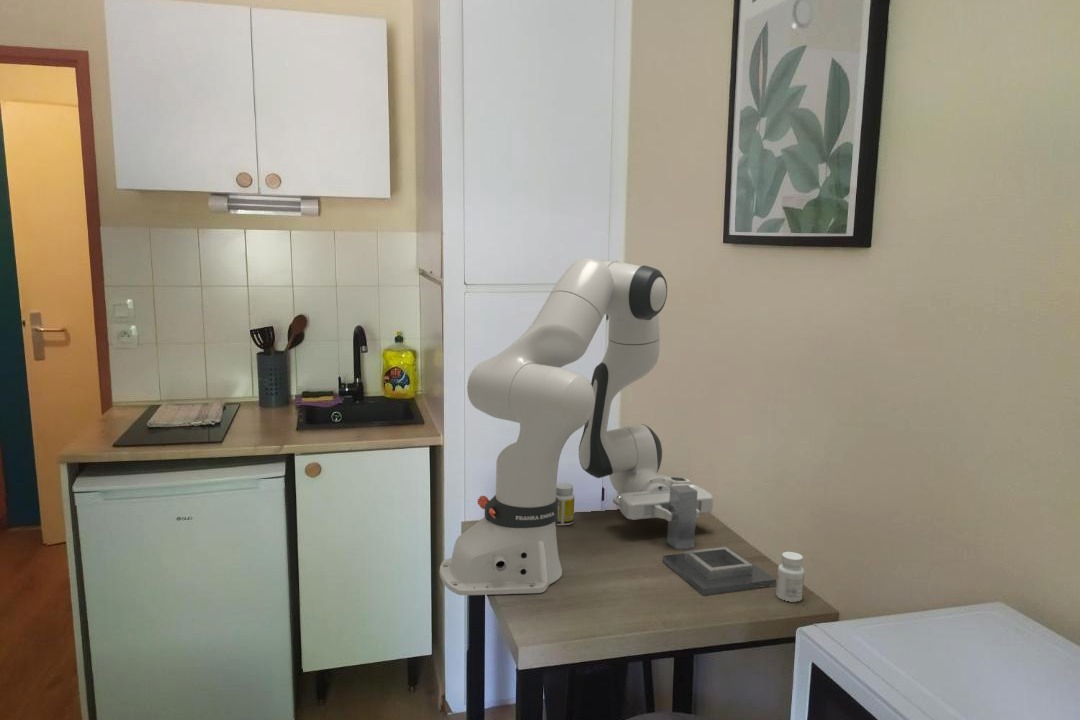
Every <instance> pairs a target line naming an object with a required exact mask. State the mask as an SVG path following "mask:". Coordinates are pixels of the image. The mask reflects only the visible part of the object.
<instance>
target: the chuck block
mask: <svg viewBox="0 0 1080 720" xmlns="http://www.w3.org/2000/svg"><path fill="white" fill-rule="evenodd" d="M662 563H664V565H666V566H667V567H669V568H670V569H671V570H672V571H673V572H675V573H676V575H678V576H679V577H681V578H682V579H683V580H684V581H685V582H686V583H688V584H689V585H690V586H692V588H693V589H694V590H696V591H697V592H698V593H700V594H701V595H702V596H703V597H704V596H709V595H717V594H725V593H732V592H734V593H735V592H741V591H745V590H746V589H748V590H752V589H751V588H756V587H761V586H770V585H776V586H777V578H774V577H773V576H772V575H770V574H769V573H767V572H766V571H765V570H763V569H761V568H760V567H758V566H757V565H755V563H753V562H751V561H750V560H748V559H747V558H745V557H744V556H742V555H741V554H740V553H738V552H737V551H735V550H734V549H732V548H730V547H729V548H728V547H727V546H720V547H713V548H711V547H710V548H702V549H694V550H686V551H684V552H683V553H677V554H676V553H675V554H669V555H668V554H667V555H662ZM756 589H757V588H756Z"/></svg>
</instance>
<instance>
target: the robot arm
mask: <svg viewBox="0 0 1080 720" xmlns="http://www.w3.org/2000/svg"><path fill="white" fill-rule="evenodd" d="M667 296H668V283H667V280H666V277H665V276H664V275H663V273H662V272H661V270H659V269H657V268H655V267H651V266H648V265H637V264H632V263H628V262H627V263H626V262H621V261H618V260H616V261H615V260H598V259H595V258H590V257H587V258H586V257H584V258H579V259H578V260H576V261H574V262H573V263H572V264H571V265H570V266H569V267H568V268H567V269H566V270H565V272H564V273H563V274H562V275H561V277H560V278H559V279H558V280H557V282H556V283H555V285H554V287H553V288H552V290H551V291H550V293H549V295H548V296H547V299H546V300H545V302H544V304H543V305H542V307H541V309H540V310H539V311H538V314H537V315H536V317H535V318H534V320H533V322H532V323H531V325H530V326H529V327H528V328H527V329H526V330H525V331H524V333H523V334H521V336H519V338H518V339H516V340H515V341H514V342H513V343H512V344H511V345H509V346H508V347H507V348H505V349H504V350H503V351H501V352H500V353H498V354H497V355H495V356H492V357H491V358H488V359H486V360H483V361H481V362H479V363H477V365H476V366H475V367H473V369H472V370H471V372H470V375H469V376H468V380H467V385H466V386H467V387H466V389H467V391H466V392H467V398H468V399H469V402H470V404H471V405H472V406H473V407H474V409H477V410H478V411H480V412H483V413H484V414H485V415H488V416H490V417H492V418H494V419H500V420H503V421H509V422H513V423H519V433H518V437H517V440H516V442H515V441H514V442H513V443H511V444H509V445H507V446H505V448H503V449H502V450H501V451H500V452H499V454H498V455H497V458H496V465H495V466H496V469H495V473H496V474H495V495H494V496H493V497H492V498H490V499H489V498H488V497H487V496H485V495H480V496H479V497H478V498H477V505H478V506H479V507H480V508H481V509H482V510H484V517H483V518H481V519H480V520H479V521H478V522H476V523H475V524H473V525H472V526H471V527H469V528H468V529H467V530H466V531H464V532H462V533H461V534H460V535H459V536H458V537H457V538H456V540H455V543H454V545H453V546H454V547H453V550H452V555H451V557H449V558H446V559H444V560H443V561H442V562H441V563H440V566H439V571H438V574H439V577H440V579H441V582H442V584H443V585H444V587H446V588H447V589H448V590H449V591H450V592H452V593H454V594H456V595H459V596H483V595H484V596H486V595H491V596H492V595H512V594H513V595H518V594H519V595H520V594H521V595H523V594H541V593H544V592H546V590H547V589H548V587H549V586H550V585H551V584H553V583H555V582H557V581H558V580H559V579H560V578H561V576H562V574H563V568H562V565H561V561H560V556H559V550H558V539H557V527H558V525H557V523H558V514H559V508H558V498H557V497H556V487H557V484H558V483H557V482H558V481H557V480H558V471H559V463H560V457H561V454H562V452H563V449H564V446H565V444H566V443H567V441H568V440H569V438H570V437H571V436H572V434H574V433H575V432H576V431H578V430H579V429H581V428H582V427H583V426H584V427H583V431H582V435H581V439H580V442H579V446H578V461H579V464H580V467H581V468H582V470H583V471H584V472H586V473H587V474H589V475H591V476H592V477H594V478H596V479H601V478H605V477H609V482H610V483H611V486H612V487H613V489H614V490H615V491H616V493H618V495H617V496H616V497H613V499H612V502H613V504H614V505H616V506H618V507H619V511H620V512H621V514H622V515H623V516H624V517H625V518H626V519H628V520H631V521H632V520H633V521H635V520H636V521H637V520H645V519H646V520H647V519H655V518H656V519H657V518H658V519H663V520H666V521H667V522H668V521H674V520H675V516H676V513H675V512H673V511H672V510H669V498H670V487H672V486H684V485H688V486H690V487H691V488H693V489H695V490H696V491H697V507H696V519H699V518H700V514H710V513H712V511H713V509H714V497H713V494H712V493H710V492H708V491H707V490H706V489H705V488H702V487H700V486H698V485H696V484H692V481H691V480H690V479H689V478H685V477H675V476H674V477H673V476H672V477H671V476H667V475H664V474H658V472H659V470H660V468H661V463H662V459H663V448H662V442H661V441H660V438H659V436H658V435H657V433H656V432H655V431H654V430H653V429H652V428H650V426H648V425H646V424H644V423H640V424H636V425H630V426H629V425H628V426H625V427H622V428H616V429H610V430H608V424H609V420H610V419H609V418H610V413H611V412H610V411H611V405H612V402H613V400H614V398H615V397H616V396H617V395H618V393H620V392H621V391H622V390H624V389H625V388H627V387H628V386H629V385H631V384H633V383H634V382H636V381H639V380H640V379H643V377H645V376H647V375H648V374H649V373H650V372H651V371H652V370H653V369H654V368H655V366H656V365H657V362H658V360H659V357H660V356H659V355H660V343H661V342H660V341H661V339H660V336H661V335H660V318H659V317H660V316H659V314H660V312H661V311H662V310H663V308H664V307H665V304H666V301H667V298H668V297H667ZM605 316H609V318H608V339H607V348H606V352H605V354H604V356H603V358H602V360H601V361H600V363H599V364H598V365H596V367H595V368H594V370H593V373H592V376H591V377H592V378H591V381H590V380H589V379H588V378H587V377H586V376H585V375H582V374H579V373H577V372H575V371H572V370H570V369H567V368H565V367H564V366H567V365H570V364H572V363H574V362H576V361H579V359H580V358H582V357H583V356H584V354H585V353H587V350H588V347H589V346H590V344H591V342H592V340H593V338H594V337H595V334H596V332H597V331H598V329H599V326H600V324H601V322H602V320H603V319H604V317H605Z"/></svg>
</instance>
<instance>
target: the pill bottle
mask: <svg viewBox="0 0 1080 720" xmlns="http://www.w3.org/2000/svg"><path fill="white" fill-rule="evenodd" d="M803 557H804V556H803V555H802V554H800V553H797V552H793V551H785V552H782V554H781V560H780V561H781V564H779V565H778V568H777V575H776V576H777V577H776V586H775V587H776V589H775V596H776V597H777V598H778V599H780V600H781V599H782V600H781V601H784V600H785V602H787V601H789V603H797V601H798V602H800V601H801V600H802V598H803V592H804V581H805V569H804V568H803V567H802V566H803Z"/></svg>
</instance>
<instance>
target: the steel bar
mask: <svg viewBox="0 0 1080 720" xmlns="http://www.w3.org/2000/svg"><path fill="white" fill-rule="evenodd" d="M696 507H697V491H696V490H695V489H693V488H691V487H690V486H688V485H684V486H672V487H670V498H669V510H672V511H673V512H675V513H676V516H675V520H674V521H667V538H666V543H667V545H669V546H671V547H672V548H673V549H675V551H679V550H689V549H695V535H696V520H697V518H696Z"/></svg>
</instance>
